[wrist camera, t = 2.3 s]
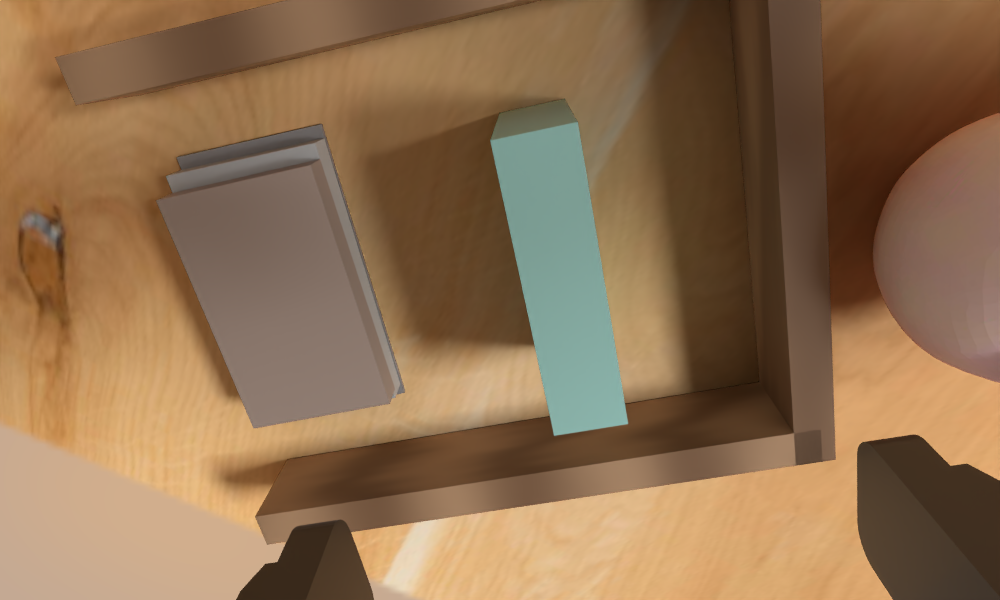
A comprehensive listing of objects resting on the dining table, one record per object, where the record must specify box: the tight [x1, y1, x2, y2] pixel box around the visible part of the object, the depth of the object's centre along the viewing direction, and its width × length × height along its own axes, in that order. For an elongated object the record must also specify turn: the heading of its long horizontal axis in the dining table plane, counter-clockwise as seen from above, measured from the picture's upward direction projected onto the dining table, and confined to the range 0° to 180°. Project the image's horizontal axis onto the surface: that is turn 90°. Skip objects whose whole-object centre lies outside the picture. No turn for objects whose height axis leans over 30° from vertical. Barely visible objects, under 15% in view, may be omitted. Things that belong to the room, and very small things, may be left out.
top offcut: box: [156, 159, 395, 428], centre depth 26 cm, size 6×10×1 cm, turn 13°
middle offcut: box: [166, 138, 400, 398], centre depth 27 cm, size 6×11×1 cm, turn 12°
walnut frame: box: [55, 0, 836, 545], centre depth 25 cm, size 24×20×4 cm
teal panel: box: [490, 99, 628, 436], centre depth 24 cm, size 2×10×7 cm, turn 12°
